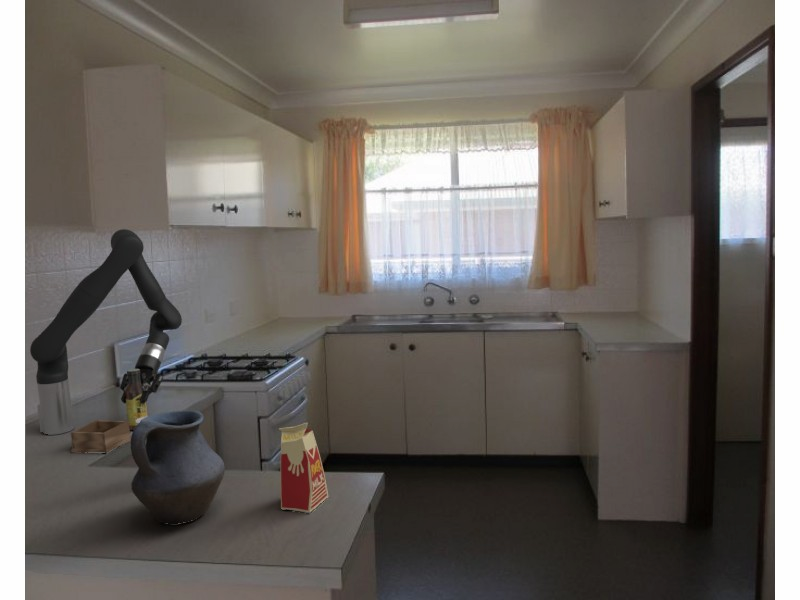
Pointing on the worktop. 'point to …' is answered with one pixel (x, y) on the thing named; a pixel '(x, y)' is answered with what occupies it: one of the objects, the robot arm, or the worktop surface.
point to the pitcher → (174, 466)
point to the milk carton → (301, 470)
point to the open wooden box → (100, 436)
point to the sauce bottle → (134, 398)
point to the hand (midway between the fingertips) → (132, 402)
